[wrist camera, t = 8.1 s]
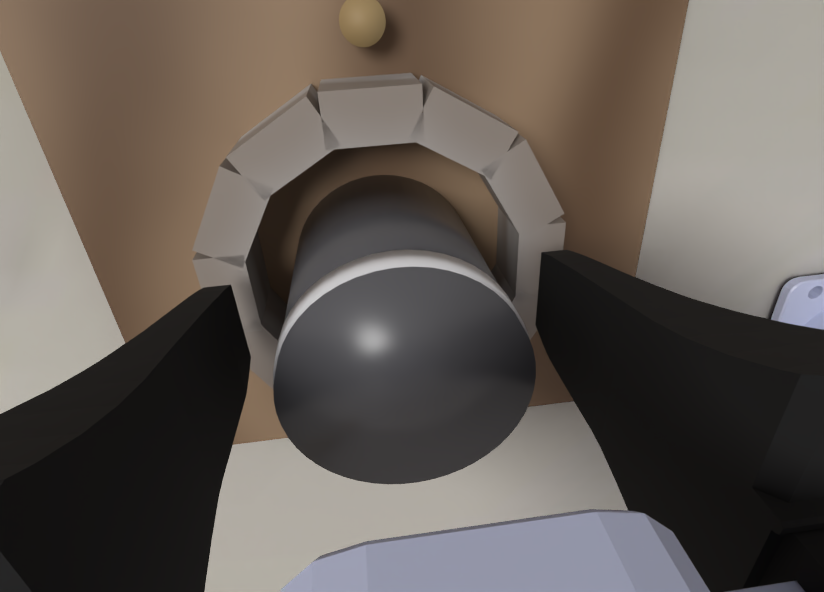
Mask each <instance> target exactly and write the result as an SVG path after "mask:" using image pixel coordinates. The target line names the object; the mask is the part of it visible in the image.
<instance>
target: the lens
mask: <svg viewBox="0 0 824 592" xmlns="http://www.w3.org/2000/svg"><path fill="white" fill-rule="evenodd" d="M535 379H536V361H535V356H534V351H533V347H532V345H531V342H530V339H529V335H528V333H527V330H526V327H525V325H524V322H523V321H522V319H521V317H520V316H519V314H518V312H517V310H516V309H515V307H514V305H513V304H512V302H511V300H510V299H509V297H508V295H507V294H506V293H505V292H504V290H503V289H502V288H501V287H500V285H499V284H498V283H497V281H496V279H495V278H494V276H493V274H492V272H491V271H490V269H489V267H488V265H487V264H486V262H485V260H484V259H483V257H482V255H481V253H480V252H479V250H478V248H477V246H476V245H475V243H474V241H473V240H472V238H471V236H470V234H469V233H468V231H467V229H466V227H465V226H464V224H463V222H462V221H461V219H460V217H459V215H458V214H457V212H456V210H455V209H454V208H453V206H452V205H451V204H450V203H449V201H448V200H446V199H445V198H444V197H443V196H442V195H441V194H440V193H439V192H437V191H436V190H434V189H433V188H431V187H430V186H428V185H426V184H424V183H422V182H419V181H416V180H414V179H411V178H407V177H402V176H395V175H374V176H368V177H363V178H359V179H356V180H353V181H350V182H348V183H346V184H344V185H342V186H340V187H338V188H337V189H335V190H334V191H332V192H330V193H329V194H328V195H327V196H326V197H324V198H323V199H322V200H321V201H320V202H319V203H318V204H317V205H316V207H315V208H314V209H313V210H312V212H311V213H310V215H309V216H308V218H307V220H306V222H305V224H304V226H303V228H302V231H301V234H300V238H299V243H298V248H297V254H296V259H295V265H294V270H293V276H292V282H291V287H290V293H289V298H288V304H287V310H286V315H285V321H284V324H283V327H282V330H281V333H280V336H279V339H278V345H277V350H276V355H275V361H274V368H273V395H274V404H275V409H276V414H277V416H278V419H279V421H280V424H281V426H282V428H283V430H284V431H285V433H286V435H287V436H288V438H289V439H290V440H291V442H292V443H293V444H294V445H295V446H296V448H297V449H299V450H300V451H301V452H302V453H303V454H304V455H305V456H306V457H307V458H309V459H310V460H312V461H313V462H315V463H316V464H318V465H319V466H321V467H323V468H325V469H327V470H329V471H331V472H333V473H336V474H338V475H341V476H343V477H347V478H350V479H354V480H358V481H364V482H370V483H379V484H405V483H414V482H421V481H426V480H431V479H435V478H438V477H441V476H445V475H448V474H450V473H453V472H455V471H458V470H460V469H463V468H465V467H467V466H469V465H471V464H472V463H474V462H476V461H478V460H479V459H481V458H482V457H484V456H485V455H487V454H488V453H490V452H491V451H492V450H493V449H495V448H496V447H497V446H498V445H500V444H501V443H502V442H503V441H504V440H505V439H506V438H507V437H508V436H509V435H510V433H511V432H512V431H513V430H514V428H515V427H516V426H517V425H518V423H519V422H520V420H521V418H522V417H523V415H524V414H525V412H526V409H527V407H528V405H529V403H530V401H531V397H532V394H533V391H534V386H535Z"/></svg>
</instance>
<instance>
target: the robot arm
mask: <svg viewBox="0 0 824 592" xmlns="http://www.w3.org/2000/svg"><path fill="white" fill-rule="evenodd" d="M535 325H536V328H537V330H538V333H539V335H540V338H541V341H542V343H543V346H544V348H545V350H546V353H547V355H548V357H549V359H550V361H551V363H552V364H553V366H554V368H555V370H556V371H557V373H558V375H559V376H560V378H561V380H562V382H563V383H564V385H565V387H566V388H567V390H568V392H569V393H570V395H571V397H572V398H573V400H574V402H575V403H576V405H577V407H578V408H579V410H580V412H581V413H582V415H583V417H584V418H585V420H586V422H587V423H588V425H589V427H590V428H591V430H592V432H593V434H594V436H595V438H596V439H597V441H598V443H599V445H600V447H601V449H602V451H603V454H604V456H605V458H606V460H607V462H608V465H609V467H610V469H611V471H612V474H613V476H614V478H615V480H616V482H617V485H618V487H619V489H620V492H621V494H622V497H623V499H624V501H625V504H626V506H627V508H628V511H623V510H596V509H589V510H582V511H575V512H568V513H561V514H554V515H547V516H540V517H533V518H526V519H519V520H512V521H505V522H498V523H491V524H484V525H478V526H471V527H464V528H457V529H450V530H443V531H436V532H429V533H422V534H415V535H408V536H401V537H394V538H387V539H380V540H373V541H366V542H363V543H360V544H357V545H354V546H350V547H347V548H344V549H341V550H338V551H335V552H331V553H328V554H325V555H322V556H320V557H318V558H317V559H316V560H314V561H313V562H312V563H311V564H310V565H309V566H307V567H306V568H305V569H304V570H303V571H302V572H300V573H299V574H298V575H297V576H296V577H295V578H294V579H292V580H291V581H290V582H289V583H288V584H287V585H285V586H284V587H283V588H282V589H281V592H824V274H819V275H811V276H802V277H797V278H793V279H791V280H790V281H788V282H787V283H786V284H785V285H784V286H783V288H782V290H781V293H780V295H779V298H778V301H777V303H776V306H775V309H774V312H773V314H772V317H771V320H770V319H765V318H761V317H756V316H752V315H748V314H744V313H740V312H736V311H732V310H728V309H725V308H721V307H718V306H714V305H711V304H708V303H704V302H701V301H697V300H694V299H691V298H688V297H685V296H682V295H680V294H677V293H674V292H672V291H669V290H666V289H663V288H661V287H658V286H655V285H653V284H650V283H648V282H645V281H643V280H641V279H638V278H636V277H633V276H631V275H629V274H626V273H624V272H622V271H619V270H617V269H615V268H612V267H610V266H608V265H606V264H603V263H601V262H599V261H596V260H594V259H592V258H589V257H587V256H584V255H582V254H579V253H576V252H573V251H570V250H558V251H549V252H541V263H540V275H539V287H538V299H537V311H536V323H535ZM250 363H251V355H250V352H249V348H248V344H247V341H246V337H245V333H244V330H243V326H242V323H241V319H240V315H239V312H238V308H237V304H236V301H235V297H234V294H233V290H232V286H231V285H222V286H213V287H204V288H202V289H200V290H198V291H197V292H195V293H194V294H192V295H191V296H189V297H188V298H187V299H185V300H184V301H183V302H181V303H180V304H179V305H177V306H176V307H175V308H173V309H172V310H171V311H169V312H168V313H167V314H165V315H164V316H163V317H161V318H160V319H159V320H157V321H156V322H155V323H153V324H152V325H151V326H149V327H148V328H147V329H145V330H144V331H143V332H141V333H140V334H138V335H137V336H136V337H134V338H133V339H131V340H130V341H128V342H127V343H125V344H124V345H122V346H121V347H120V348H118V349H117V350H115V351H114V352H112V353H111V354H109V355H108V356H107V357H105V358H103V359H102V360H100V361H99V362H97V363H96V364H94V365H92V366H91V367H89V368H87V369H86V370H84V371H83V372H81V373H79V374H77V375H75V376H74V377H72V378H70V379H68V380H67V381H65V382H63V383H61V384H60V385H58V386H56V387H54V388H52V389H50V390H49V391H47V392H45V393H43V394H41V395H38V396H36V397H34V398H32V399H30V400H28V401H26V402H24V403H22V404H20V405H18V406H16V407H14V408H12V409H10V410H8V411H6V412H4V413H2V414H0V592H204V590H205V582H206V575H207V568H208V561H209V554H210V547H211V540H212V534H213V528H214V521H215V515H216V509H217V503H218V497H219V493H220V489H221V484H222V480H223V476H224V473H225V469H226V466H227V462H228V459H229V455H230V452H231V448H232V445H233V441H234V438H235V434H236V431H237V427H238V424H239V420H240V416H241V413H242V409H243V406H244V402H245V398H246V394H247V387H248V380H249V372H250Z"/></svg>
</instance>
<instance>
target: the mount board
mask: <svg viewBox="0 0 824 592" xmlns="http://www.w3.org/2000/svg"><path fill="white" fill-rule="evenodd" d="M688 2H689V0H0V51H1V54H2V56H3V58H4V61H5V63H6V65H7V68H8V70H9V72H10V75H11V77H12V79H13V82H14V84H15V86H16V89H17V91H18V93H19V96H20V98H21V100H22V103H23V105H24V107H25V110H26V112H27V114H28V117H29V119H30V121H31V124H32V126H33V128H34V131H35V133H36V135H37V138H38V140H39V142H40V145H41V147H42V149H43V152H44V154H45V156H46V159H47V161H48V163H49V166H50V168H51V170H52V173H53V175H54V177H55V180H56V182H57V184H58V187H59V189H60V191H61V194H62V196H63V198H64V201H65V203H66V205H67V208H68V210H69V212H70V215H71V217H72V219H73V222H74V224H75V226H76V229H77V231H78V233H79V236H80V238H81V240H82V243H83V245H84V247H85V250H86V252H87V254H88V257H89V259H90V261H91V264H92V266H93V268H94V271H95V273H96V275H97V278H98V280H99V282H100V285H101V287H102V289H103V292H104V294H105V296H106V299H107V301H108V303H109V306H110V308H111V310H112V313H113V315H114V317H115V320H116V322H117V324H118V327H119V329H120V331H121V334H122V336H123V338H124V341H125V343H127V342H128V341H130V340H131V339H133V338H134V337H136V336H137V335H138V334H140V333H141V332H143V331H144V330H145V329H147V328H148V327H149V326H151V325H152V324H153V323H155V322H156V321H157V320H159V319H160V318H161V317H163V316H164V315H165V314H167V313H168V312H169V311H171V310H172V309H173V308H175V307H176V306H177V305H179V304H180V303H181V302H183V301H184V300H185V299H187V298H188V297H189V296H191V295H192V294H194V293H195V292H197V291H198V290H200V289H202V288H204V287H213V286H222V285H231V286H232V290H233V294H234V297H235V301H236V304H237V308H238V312H239V315H240V319H241V323H242V326H243V330H244V333H245V337H246V341H247V344H248V348H249V352H250V355H251V363H250V372H249V380H248V387H247V394H246V398H245V402H244V406H243V409H242V413H241V416H240V420H239V424H238V427H237V431H236V434H235V438H234V441H233V444H241V443H249V442H257V441H265V440H272V439H280V438H288V436H287V435H286V433H285V431H284V430H283V428H282V426H281V424H280V421H279V419H278V416H277V414H276V409H275V404H274V395H273V368H274V361H275V355H276V350H277V345H278V339H279V336H280V333H281V330H282V327H283V324H284V321H285V315H286V310H287V304H288V298H289V293H290V287H291V282H292V276H293V270H294V265H295V259H296V254H297V248H298V243H299V238H300V234H301V231H302V228H303V226H304V224H305V222H306V220H307V218H308V216H309V215H310V213H311V212H312V210H313V209H314V208H315V207H316V205H317V204H318V203H319V202H320V201H321V200H322V199H323V198H324V197H326V196H327V195H328V194H329V193H330V192H332V191H334V190H335V189H337V188H338V187H340V186H342V185H344V184H346V183H348V182H350V181H353V180H356V179H359V178H363V177H368V176H374V175H395V176H402V177H407V178H411V179H414V180H416V181H419V182H422V183H424V184H426V185H428V186H430V187H431V188H433V189H434V190H436V191H437V192H439V193H440V194H441V195H442V196H443V197H444V198H445V199H446V200H448V201H449V203H450V204H451V205H452V206H453V208H454V209H455V210H456V212H457V214H458V215H459V217H460V219H461V221H462V222H463V224H464V226H465V227H466V229H467V231H468V233H469V234H470V236H471V238H472V240H473V241H474V243H475V245H476V246H477V248H478V250H479V252H480V253H481V255H482V257H483V259H484V260H485V262H486V264H487V265H488V267H489V269H490V271H491V272H492V274H493V276H494V278H495V279H496V281H497V283H498V284H499V285H500V287H501V288H502V289H503V290H504V292H505V293H506V294H507V295H508V297H509V299H510V300H511V302H512V304H513V305H514V307H515V309H516V310H517V312H518V314H519V316H520V317H521V319H522V321H523V322H524V325H525V327H526V330H527V333H528V335H529V339H530V342H531V345H532V347H533V351H534V356H535V361H536V379H535V386H534V391H533V394H532V397H531V401H530V403H529V405H528V407H531V406H538V405H546V404H554V403H562V402H570V401H574V400H573V398H572V397H571V395H570V393H569V392H568V390H567V388H566V387H565V385H564V383H563V382H562V380H561V378H560V376H559V375H558V373H557V371H556V370H555V368H554V366H553V364H552V363H551V361H550V359H549V357H548V355H547V353H546V350H545V348H544V346H543V343H542V341H541V338H540V335H539V333H538V330H537V328H536V325H535V323H536V311H537V299H538V287H539V275H540V263H541V252H549V251H558V250H570V251H573V252H576V253H579V254H582V255H584V256H587V257H589V258H592V259H594V260H596V261H599V262H601V263H603V264H606V265H608V266H610V267H612V268H615V269H617V270H619V271H622V272H624V273H626V274H629V275H631V276H633V277H635V275H636V270H637V265H638V259H639V254H640V249H641V244H642V239H643V234H644V229H645V223H646V218H647V213H648V208H649V203H650V198H651V193H652V187H653V182H654V177H655V172H656V167H657V162H658V156H659V151H660V146H661V141H662V136H663V131H664V126H665V120H666V115H667V110H668V105H669V100H670V95H671V90H672V84H673V79H674V74H675V69H676V64H677V59H678V54H679V48H680V43H681V38H682V33H683V28H684V23H685V17H686V12H687V7H688Z"/></svg>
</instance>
